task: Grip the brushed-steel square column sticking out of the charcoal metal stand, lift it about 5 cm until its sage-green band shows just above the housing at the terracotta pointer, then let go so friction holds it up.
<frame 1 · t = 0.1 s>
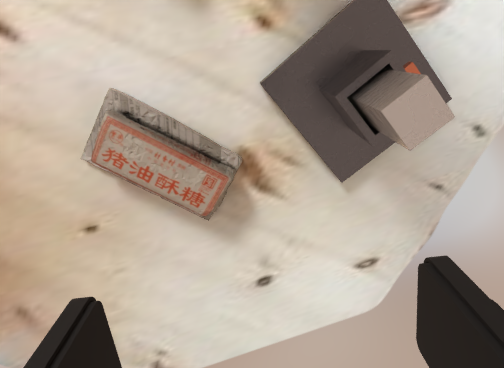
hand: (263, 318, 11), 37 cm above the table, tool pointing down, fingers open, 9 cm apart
stand housing: (353, 89, 45), on the table
packaged product: (164, 155, 48), on the table
column: (381, 100, 36), point 10 cm above the table, slide at 0.0 cm
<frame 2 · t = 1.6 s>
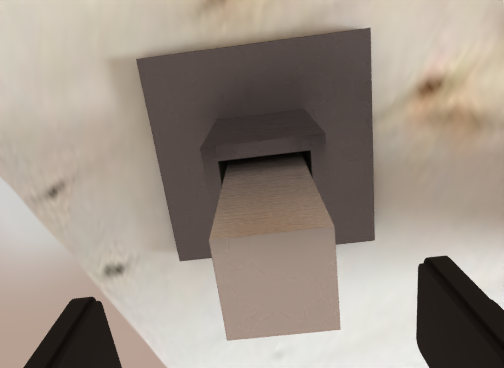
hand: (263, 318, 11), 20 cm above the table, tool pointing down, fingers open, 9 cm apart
stand housing: (264, 151, 30), on the table
column: (268, 198, 20), point 10 cm above the table, slide at 0.0 cm
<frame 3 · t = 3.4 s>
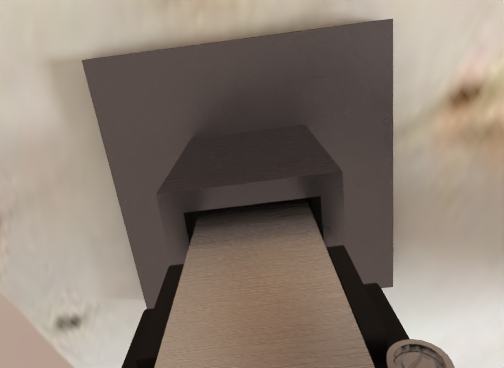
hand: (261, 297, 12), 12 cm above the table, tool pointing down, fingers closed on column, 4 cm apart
stand housing: (254, 177, 23), on the table
column: (259, 262, 14), point 10 cm above the table, slide at 0.0 cm, touching gripper
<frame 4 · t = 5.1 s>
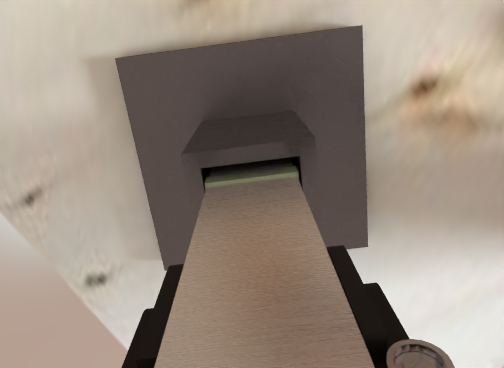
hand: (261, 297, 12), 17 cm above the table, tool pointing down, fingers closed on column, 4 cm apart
stand housing: (252, 155, 28), on the table
column: (259, 262, 14), point 15 cm above the table, slide at 5.2 cm, touching gripper
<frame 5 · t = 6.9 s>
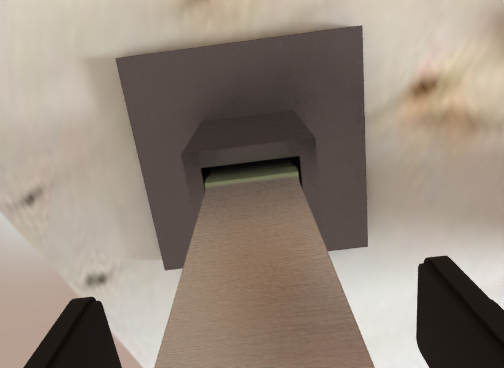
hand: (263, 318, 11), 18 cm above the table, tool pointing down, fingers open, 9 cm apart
stand housing: (252, 155, 28), on the table
column: (259, 262, 14), point 15 cm above the table, slide at 5.3 cm
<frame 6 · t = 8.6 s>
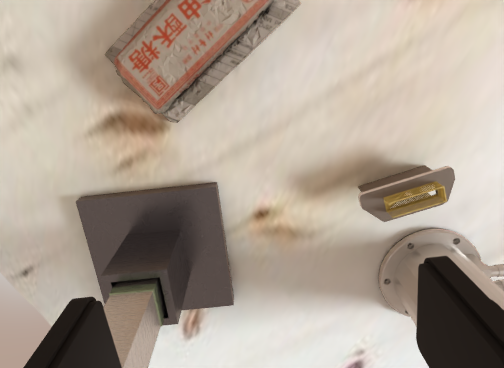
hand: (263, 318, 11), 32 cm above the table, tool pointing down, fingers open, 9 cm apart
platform: (390, 181, 45), on the table
stand housing: (161, 250, 47), on the table
packaged product: (202, 30, 39), on the table
column: (124, 338, 32), point 15 cm above the table, slide at 5.3 cm
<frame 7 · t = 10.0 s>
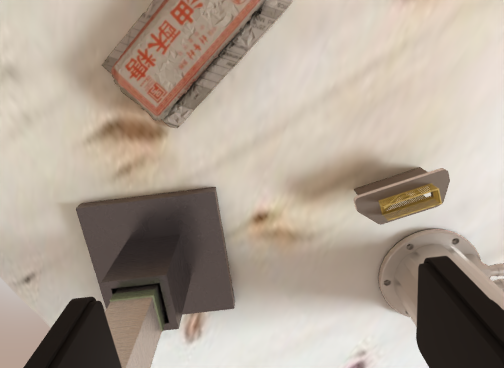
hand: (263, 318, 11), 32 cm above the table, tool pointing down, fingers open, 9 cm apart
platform: (386, 183, 45), on the table
stand housing: (161, 254, 47), on the table
packaged product: (196, 34, 39), on the table
column: (125, 344, 33), point 15 cm above the table, slide at 5.3 cm
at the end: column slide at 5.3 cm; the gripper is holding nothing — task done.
